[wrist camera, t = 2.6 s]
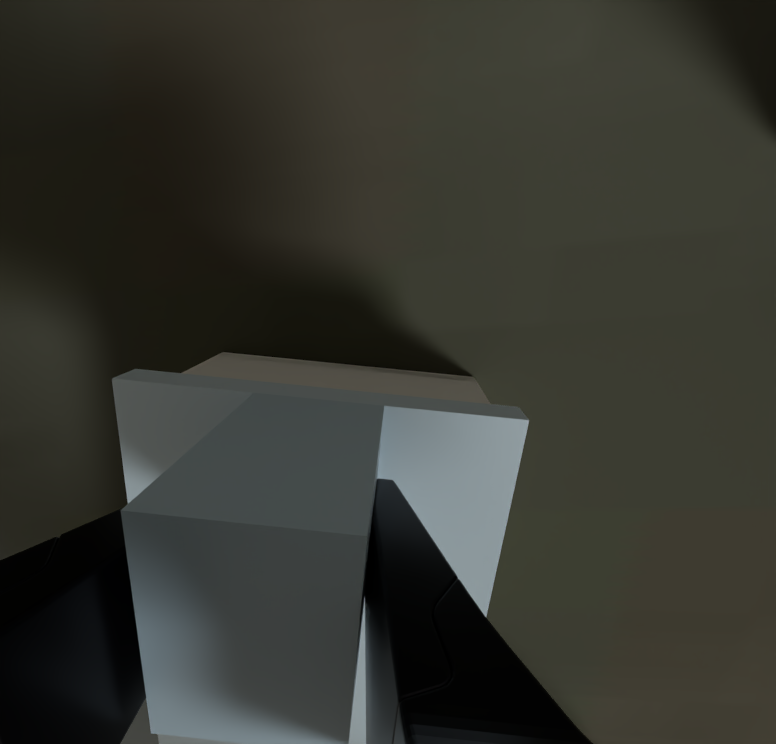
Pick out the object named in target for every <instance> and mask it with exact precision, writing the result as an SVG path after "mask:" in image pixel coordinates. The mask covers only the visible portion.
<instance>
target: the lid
mask: <svg viewBox="0 0 776 744" xmlns="http://www.w3.org/2000/svg"><path fill="white" fill-rule="evenodd" d="M112 385H113V393H114V400H115V408H116V416H117V424H118V431H119V439H120V447H121V454H122V462H123V470H124V478H125V485H126V493H127V501H128V504H127V505H126V506H125V507H124V508H123V509H122V510H121V517H122V524H123V532H124V539H125V546H126V553H127V561H128V568H129V575H130V583H131V590H132V597H133V604H134V612H135V619H136V626H137V634H138V641H139V648H140V656H141V663H142V670H143V677H144V685H145V692H146V699H147V707H148V714H149V721H150V728H151V733H154V734H158V740H159V744H366V675H365V588H366V577H367V566H368V556H369V545H370V534H371V524H372V513H373V505H374V498H375V490H376V483H377V479H378V478H380V479H390V480H393V481H394V482H395V483H396V485H397V486H398V488H399V489H400V491H401V492H402V494H403V495H404V497H405V498H406V500H407V501H408V503H409V504H410V506H411V507H412V509H413V510H414V512H415V513H416V515H417V516H418V518H419V519H420V521H421V522H422V524H423V525H424V527H425V528H426V530H427V531H428V533H429V534H430V536H431V537H432V539H433V540H434V542H435V543H436V545H437V546H438V548H439V549H440V551H441V552H442V554H443V555H444V557H445V558H446V560H447V561H448V563H449V564H450V566H451V567H452V569H453V570H454V572H455V573H456V575H457V577H458V579H459V580H460V581H461V582H462V584H463V585H464V587H465V588H466V590H467V591H468V593H469V594H470V596H471V597H472V598H473V600H474V601H475V603H476V604H477V605H478V607H479V608H480V610H481V611H482V613H483V614H484V615H485V617H486V616H487V611H488V607H489V602H490V597H491V593H492V588H493V584H494V579H495V575H496V570H497V565H498V561H499V556H500V552H501V547H502V542H503V538H504V533H505V529H506V524H507V520H508V515H509V510H510V506H511V501H512V497H513V492H514V488H515V483H516V478H517V474H518V469H519V465H520V460H521V455H522V451H523V446H524V442H525V437H526V433H527V428H528V423H529V419H528V418H527V417H526V416H525V414H524V413H523V412H522V410H521V409H520V408H519V407H514V406H504V405H494V404H484V403H474V402H464V401H454V400H444V399H434V398H424V397H414V396H404V395H393V394H383V393H373V392H363V391H353V390H343V389H333V388H323V387H313V386H303V385H293V384H283V383H273V382H263V381H253V380H243V379H233V378H223V377H213V376H203V375H193V374H183V373H173V372H163V371H153V370H143V369H134V370H131V371H129V372H126V373H124V374H121V375H119V376H117V377H114V378H112Z"/></svg>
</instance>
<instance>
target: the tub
mask: <svg viewBox="0 0 776 744" xmlns="http://www.w3.org/2000/svg"><path fill="white" fill-rule="evenodd" d="M182 373H183V374H193V375H203V376H213V377H223V378H233V379H243V380H253V381H263V382H273V383H283V384H293V385H303V386H313V387H323V388H333V389H343V390H353V391H363V392H373V393H383V394H393V395H404V396H414V397H424V398H434V399H444V400H454V401H464V402H474V403H484V404H490V403H489V401H488V399H487V398H486V396H485V394H484V393H483V391H482V389H481V388H480V386H479V384H478V383H477V381H476V379H475V378H474V377H470V376H460V375H450V374H440V373H430V372H420V371H410V370H399V369H389V368H379V367H369V366H359V365H349V364H339V363H329V362H318V361H308V360H298V359H288V358H278V357H268V356H258V355H248V354H237V353H227V352H222V353H220V354H218V355H216V356H214V357H212V358H210V359H208V360H206V361H204V362H202V363H200V364H198V365H196V366H194V367H192V368H190V369H188V370H186V371H184V372H182Z"/></svg>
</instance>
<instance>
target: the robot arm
mask: <svg viewBox="0 0 776 744" xmlns="http://www.w3.org/2000/svg"><path fill="white" fill-rule="evenodd" d="M122 509H123V508H122ZM122 509H119V510H117V511H115V512H112V513H110V514H108V515H105V516H103V517H101V518H98V519H96V520H94V521H92V522H89V523H87V524H85V525H82V526H80V527H78V528H75V529H73V530H71V531H68V532H66V533H64V534H62V535H61V536H60V537H59V538H58V537H54V538H52V539H50V540H47V541H45V542H43V543H40V544H38V545H36V546H34V547H31V548H29V549H26V550H24V551H22V552H19V553H17V554H15V555H12V556H10V557H7V558H5V559H3V560H0V744H120V743H121V741H122V740H123V738H124V736H125V734H126V733H127V731H128V729H129V727H130V725H131V724H132V722H133V720H134V718H135V716H136V715H137V713H138V711H139V709H140V707H141V706H142V704H143V702H144V700H145V699H146V692H145V685H144V677H143V670H142V663H141V656H140V648H139V641H138V634H137V626H136V619H135V612H134V604H133V597H132V590H131V583H130V575H129V568H128V561H127V553H126V546H125V539H124V532H123V524H122V517H121V510H122ZM365 675H366V744H593V743H592V742H591V741H590V740H589V739H588V738H587V737H586V736H585V735H584V734H583V733H582V732H581V731H580V730H579V729H578V728H577V727H576V726H575V725H574V723H573V722H572V721H571V720H570V719H569V718H568V717H567V715H566V714H565V713H564V712H563V711H562V709H561V708H560V707H559V706H558V705H557V703H556V702H555V701H554V700H553V699H552V697H551V696H550V695H549V694H548V693H547V691H546V690H545V689H544V688H543V687H542V685H541V684H540V683H539V682H538V681H537V679H536V678H535V677H534V676H533V675H532V673H531V672H530V671H529V670H528V669H527V667H526V666H525V665H524V664H523V663H522V661H521V660H520V659H519V658H518V657H517V655H516V654H515V653H514V652H513V651H512V649H511V648H510V647H509V646H508V645H507V643H506V642H505V641H504V640H503V638H502V637H501V636H500V634H499V633H498V632H497V631H496V629H495V628H494V627H493V626H492V624H491V623H490V622H489V621H488V619H487V618H486V617H485V615H484V614H483V613H482V611H481V610H480V608H479V607H478V605H477V604H476V603H475V601H474V600H473V598H472V597H471V596H470V594H469V593H468V591H467V590H466V588H465V587H464V585H463V584H462V582H461V581H460V580H459V579H458V577H457V575H456V573H455V572H454V570H453V569H452V567H451V566H450V564H449V563H448V561H447V560H446V558H445V557H444V555H443V554H442V552H441V551H440V549H439V548H438V546H437V545H436V543H435V542H434V540H433V539H432V537H431V536H430V534H429V533H428V531H427V530H426V528H425V527H424V525H423V524H422V522H421V521H420V519H419V518H418V516H417V515H416V513H415V512H414V510H413V509H412V507H411V506H410V504H409V503H408V501H407V500H406V498H405V497H404V495H403V494H402V492H401V491H400V489H399V488H398V486H397V485H396V483H395V482H394V481H393V480H390V479H380V478H378V479H377V483H376V490H375V498H374V505H373V513H372V524H371V534H370V545H369V556H368V566H367V577H366V588H365Z"/></svg>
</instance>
